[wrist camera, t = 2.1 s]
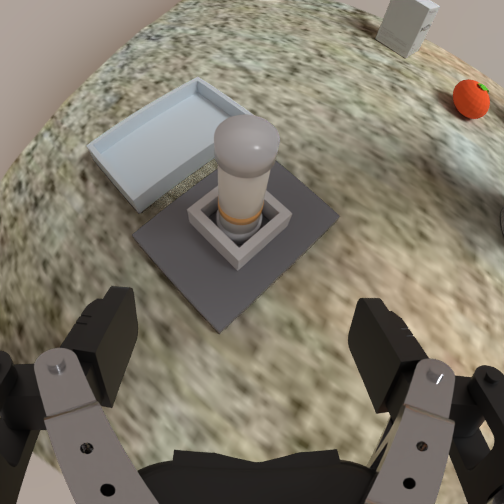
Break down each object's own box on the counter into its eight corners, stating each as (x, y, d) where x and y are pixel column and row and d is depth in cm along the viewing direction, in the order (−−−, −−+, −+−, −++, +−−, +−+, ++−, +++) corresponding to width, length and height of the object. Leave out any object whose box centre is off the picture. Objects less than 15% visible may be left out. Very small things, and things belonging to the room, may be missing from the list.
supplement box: (405, 59, 47) (430, 9, 35) (373, 39, 49) (393, -12, 37) (418, 52, 49) (441, 6, 38) (389, 33, 51) (408, -14, 39)
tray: (198, 91, 38) (198, 76, 36) (253, 131, 36) (255, 116, 33) (93, 159, 33) (86, 145, 31) (139, 213, 31) (133, 200, 28)
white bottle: (239, 197, 31) (247, 106, 20) (269, 225, 30) (293, 139, 19) (207, 222, 30) (200, 135, 19) (237, 252, 29) (246, 174, 18)
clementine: (463, 97, 45) (480, 72, 39) (485, 125, 43) (505, 100, 36) (439, 97, 44) (457, 69, 37) (463, 128, 41) (484, 100, 35)
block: (253, 149, 35) (256, 127, 31) (336, 221, 32) (348, 203, 29) (134, 239, 30) (124, 222, 26) (219, 334, 27) (218, 327, 24)
